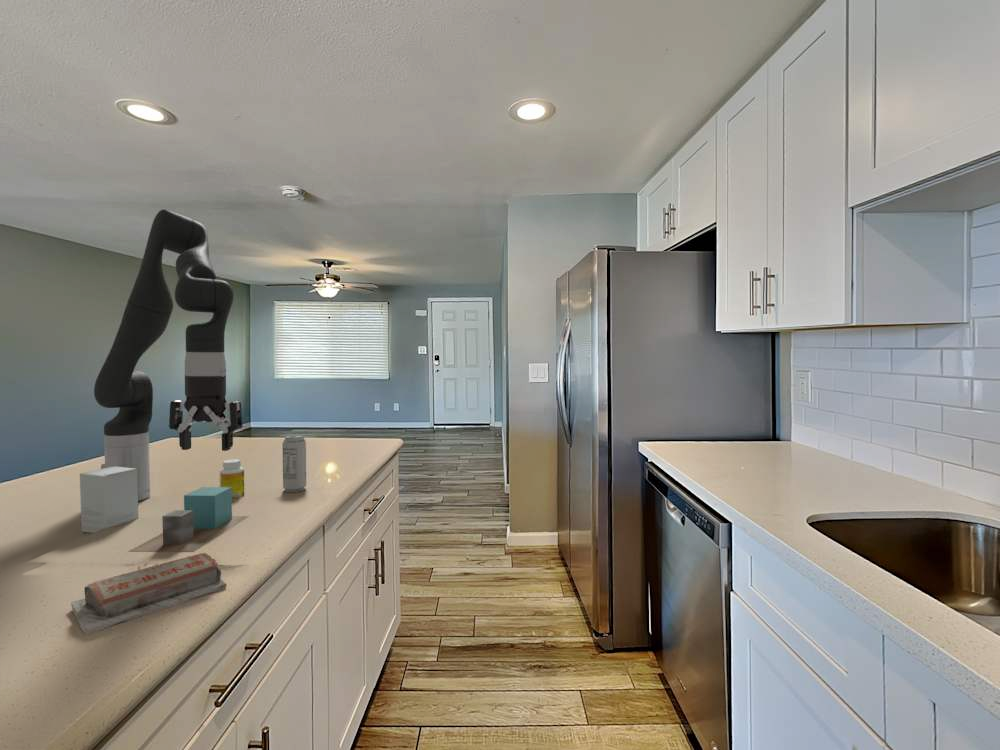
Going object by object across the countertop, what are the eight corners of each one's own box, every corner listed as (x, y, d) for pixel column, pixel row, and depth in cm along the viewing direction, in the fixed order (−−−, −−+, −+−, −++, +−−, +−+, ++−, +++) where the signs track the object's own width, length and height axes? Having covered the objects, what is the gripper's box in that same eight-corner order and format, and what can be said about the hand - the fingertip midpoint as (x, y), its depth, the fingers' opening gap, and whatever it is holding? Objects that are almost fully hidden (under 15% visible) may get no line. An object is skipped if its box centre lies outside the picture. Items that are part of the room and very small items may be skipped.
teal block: (184, 528, 103) (183, 495, 103) (203, 518, 109) (202, 487, 109) (215, 528, 103) (214, 495, 103) (232, 518, 109) (231, 487, 109)
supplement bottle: (246, 500, 128) (246, 461, 127) (222, 504, 124) (221, 464, 124) (241, 495, 132) (241, 457, 132) (218, 499, 129) (217, 460, 128)
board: (128, 559, 91) (127, 521, 91) (195, 522, 111) (195, 491, 111) (193, 559, 91) (192, 522, 91) (248, 522, 111) (248, 491, 111)
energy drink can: (310, 488, 139) (310, 435, 138) (291, 493, 134) (291, 439, 133) (297, 485, 142) (297, 433, 142) (278, 490, 137) (277, 436, 137)
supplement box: (140, 524, 110) (138, 468, 109) (103, 536, 102) (102, 475, 102) (116, 520, 112) (115, 465, 111) (79, 531, 105) (78, 472, 104)
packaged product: (204, 545, 87) (226, 561, 80) (204, 572, 87) (227, 590, 80) (69, 581, 73) (83, 603, 67) (70, 613, 73) (84, 638, 67)
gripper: (159, 374, 101) (161, 452, 102) (229, 375, 101) (230, 454, 101) (183, 372, 108) (184, 446, 109) (248, 373, 108) (248, 447, 109)
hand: (206, 449), depth 105 cm, fingers open, 8 cm apart
